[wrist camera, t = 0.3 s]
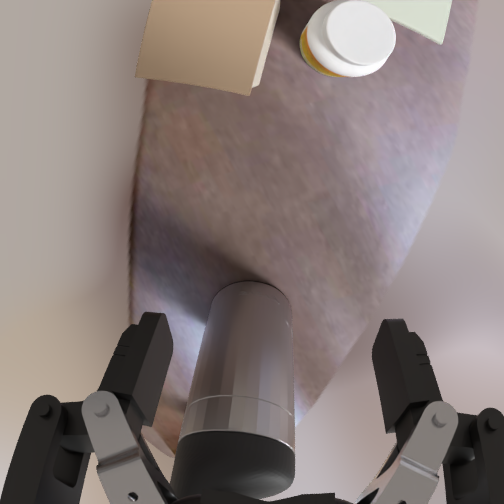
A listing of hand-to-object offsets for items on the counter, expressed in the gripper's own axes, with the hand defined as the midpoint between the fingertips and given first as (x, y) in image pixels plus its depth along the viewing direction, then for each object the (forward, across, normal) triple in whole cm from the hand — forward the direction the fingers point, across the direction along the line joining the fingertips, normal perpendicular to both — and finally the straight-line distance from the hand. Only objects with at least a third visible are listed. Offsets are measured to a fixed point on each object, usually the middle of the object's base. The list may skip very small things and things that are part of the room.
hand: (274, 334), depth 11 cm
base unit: (+20, -3, +11) cm, 23 cm away
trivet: (+20, +11, +17) cm, 28 cm away
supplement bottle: (+20, +4, +11) cm, 23 cm away
